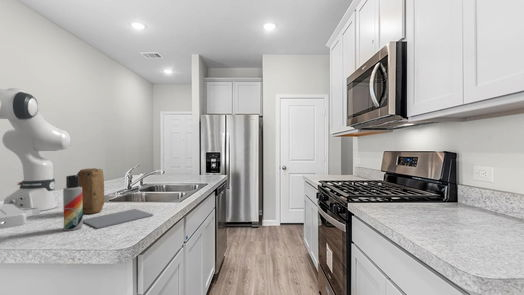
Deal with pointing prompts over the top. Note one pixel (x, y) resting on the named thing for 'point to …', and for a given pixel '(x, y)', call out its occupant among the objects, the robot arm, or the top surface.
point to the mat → (116, 218)
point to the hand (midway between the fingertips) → (38, 210)
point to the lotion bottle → (72, 204)
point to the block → (92, 190)
